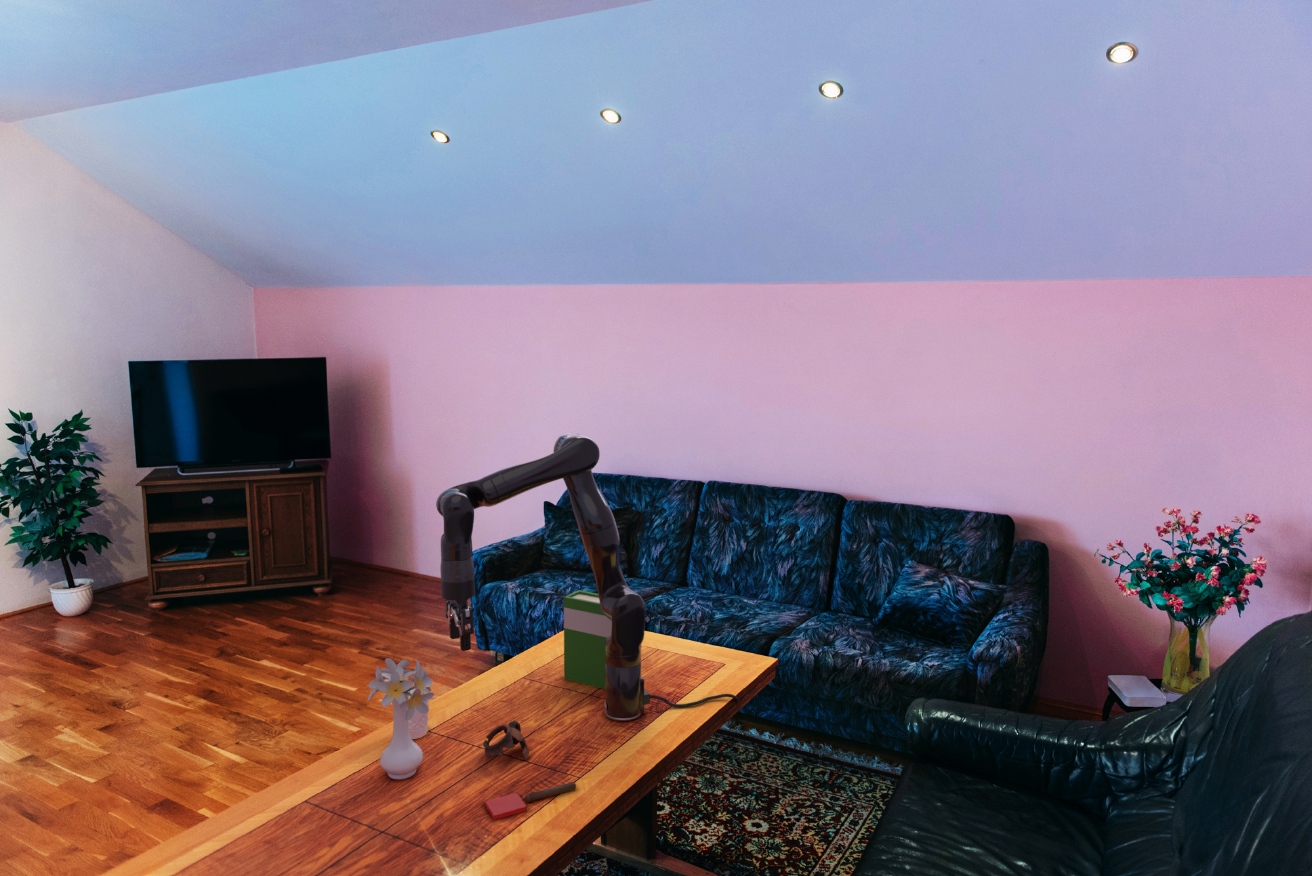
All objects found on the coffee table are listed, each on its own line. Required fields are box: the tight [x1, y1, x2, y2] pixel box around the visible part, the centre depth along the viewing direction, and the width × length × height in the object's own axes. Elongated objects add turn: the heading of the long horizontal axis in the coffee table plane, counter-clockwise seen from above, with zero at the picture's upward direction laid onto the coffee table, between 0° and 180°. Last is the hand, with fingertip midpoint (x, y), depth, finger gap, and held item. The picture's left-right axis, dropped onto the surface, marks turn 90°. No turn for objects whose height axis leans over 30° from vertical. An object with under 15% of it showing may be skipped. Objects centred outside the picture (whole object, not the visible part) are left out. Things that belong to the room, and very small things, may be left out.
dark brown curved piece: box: [482, 720, 530, 761], centre depth 195 cm, size 12×10×8 cm
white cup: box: [407, 689, 430, 740], centre depth 204 cm, size 8×8×10 cm
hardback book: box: [563, 589, 612, 690], centre depth 235 cm, size 18×7×24 cm, turn 60°
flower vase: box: [367, 657, 435, 780], centre depth 185 cm, size 13×18×25 cm
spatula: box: [484, 781, 577, 821], centre depth 176 cm, size 19×6×2 cm, turn 119°
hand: (460, 644), depth 194 cm, fingers open, 8 cm apart
